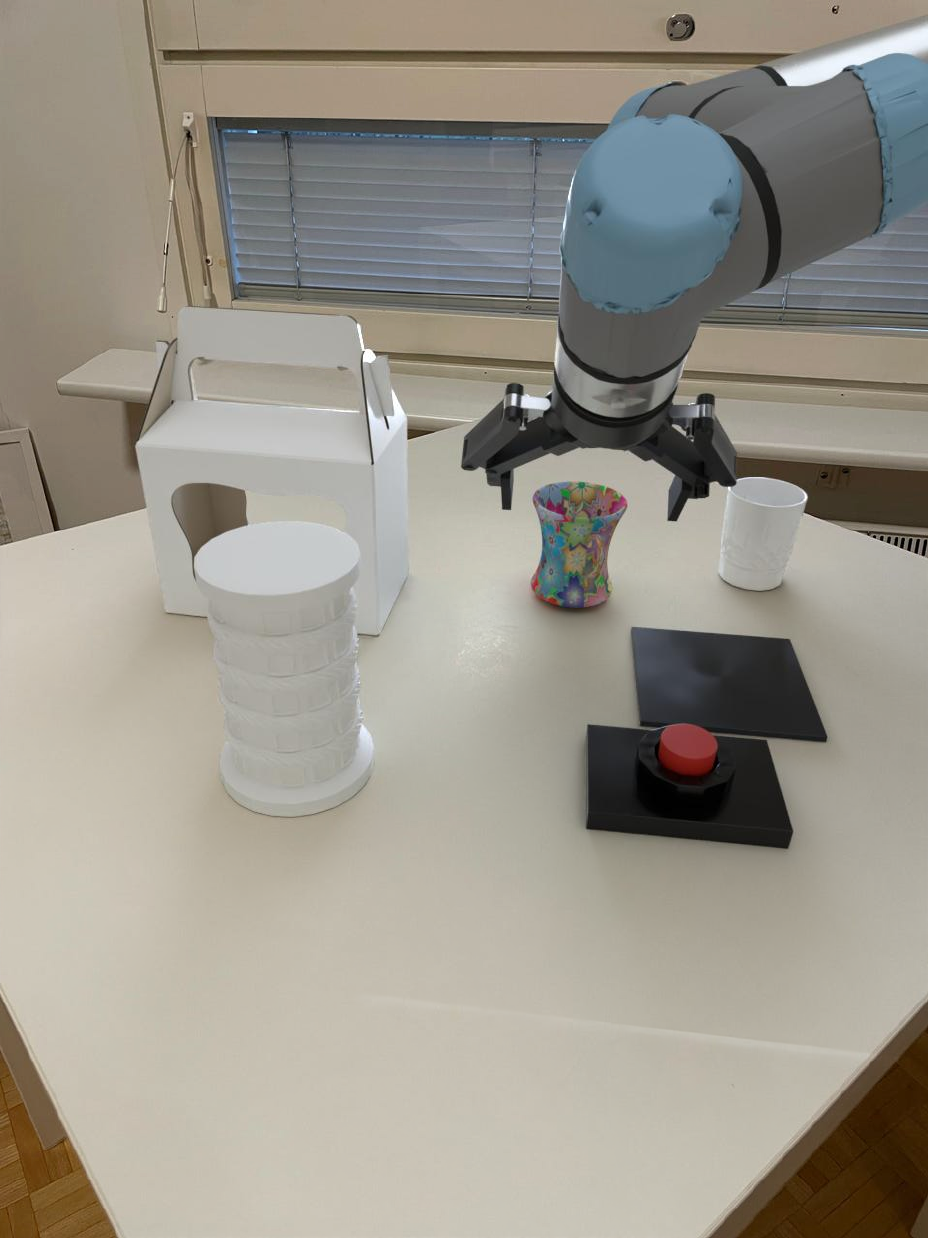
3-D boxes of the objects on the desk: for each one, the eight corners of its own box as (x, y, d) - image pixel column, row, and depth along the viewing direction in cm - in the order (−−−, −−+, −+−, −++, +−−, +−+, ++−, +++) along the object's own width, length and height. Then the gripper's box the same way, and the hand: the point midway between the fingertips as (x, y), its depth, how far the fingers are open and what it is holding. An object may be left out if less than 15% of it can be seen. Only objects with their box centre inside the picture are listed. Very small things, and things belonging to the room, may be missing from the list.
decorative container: (400, 741, 70) (396, 538, 60) (322, 837, 61) (304, 614, 51) (278, 703, 74) (257, 507, 64) (188, 788, 64) (148, 573, 55)
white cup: (761, 601, 90) (781, 513, 85) (698, 574, 95) (713, 488, 90) (801, 579, 95) (822, 493, 90) (739, 553, 100) (755, 471, 95)
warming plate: (788, 643, 83) (790, 638, 83) (826, 742, 71) (828, 736, 70) (630, 631, 85) (631, 626, 84) (639, 726, 72) (640, 720, 72)
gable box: (411, 573, 94) (408, 302, 80) (381, 637, 83) (372, 336, 68) (216, 553, 97) (179, 289, 82) (161, 613, 86) (108, 319, 71)
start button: (709, 744, 65) (713, 726, 64) (717, 780, 62) (721, 761, 61) (655, 739, 66) (659, 721, 65) (660, 775, 62) (663, 756, 61)
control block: (762, 756, 69) (771, 721, 67) (788, 849, 61) (799, 812, 59) (585, 740, 70) (589, 705, 68) (586, 829, 62) (590, 792, 60)
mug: (516, 575, 94) (522, 483, 89) (598, 569, 96) (609, 478, 90) (547, 633, 84) (555, 534, 79) (638, 625, 86) (652, 527, 80)
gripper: (403, 410, 52) (436, 532, 72) (833, 436, 50) (741, 553, 70) (416, 300, 54) (445, 449, 74) (833, 320, 52) (743, 468, 72)
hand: (589, 500), depth 72 cm, fingers open, 13 cm apart
